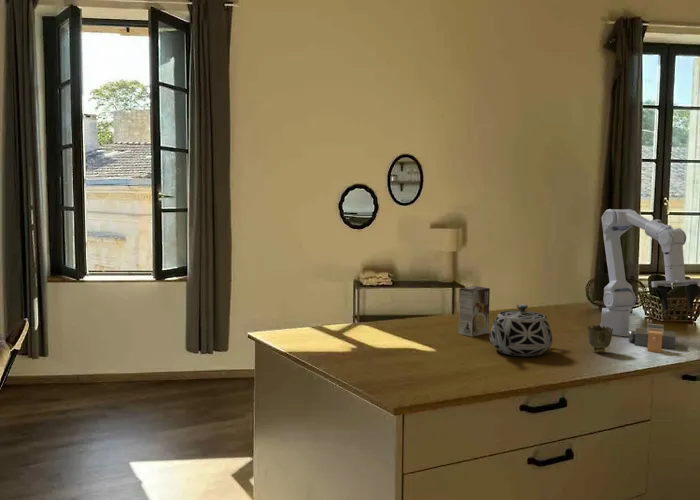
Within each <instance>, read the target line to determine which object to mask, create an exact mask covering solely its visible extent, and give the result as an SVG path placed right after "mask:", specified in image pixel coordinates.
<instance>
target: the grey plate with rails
mask: <svg viewBox="0 0 700 500" xmlns="http://www.w3.org/2000/svg"><path fill="white" fill-rule="evenodd" d="M649 331H660V332H662V347H661V349H670V350H675V348H676V347H675V346H676V345H675V344H676V332H675V331H670V330H665V329H664V324H658V323H657V324H656V323H646V328H639V327H637V328H635V330H629V337H628V342H633V343H634V346H638V345H639V346H640V347H648V333H649ZM639 346H638V347H639Z"/></svg>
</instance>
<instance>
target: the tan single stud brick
mask: <svg viewBox="0 0 700 500" xmlns="http://www.w3.org/2000/svg"><path fill="white" fill-rule="evenodd" d="M661 347H662V332H660V331H649V333H648V346H647V352H652V353H662V348H661Z"/></svg>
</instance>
